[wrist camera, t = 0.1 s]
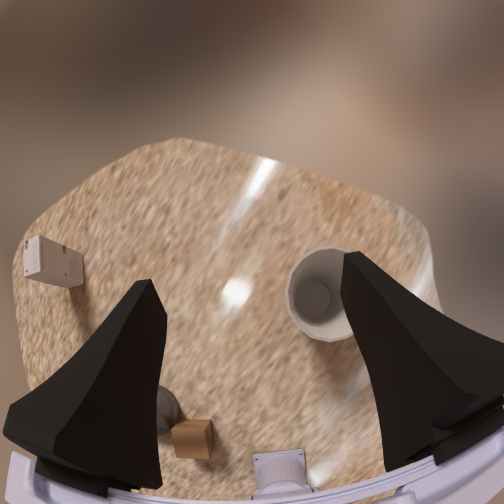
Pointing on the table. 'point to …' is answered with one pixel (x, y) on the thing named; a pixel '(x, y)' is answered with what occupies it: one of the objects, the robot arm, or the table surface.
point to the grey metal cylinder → (166, 410)
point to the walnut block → (193, 439)
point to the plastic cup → (318, 294)
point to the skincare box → (52, 263)
